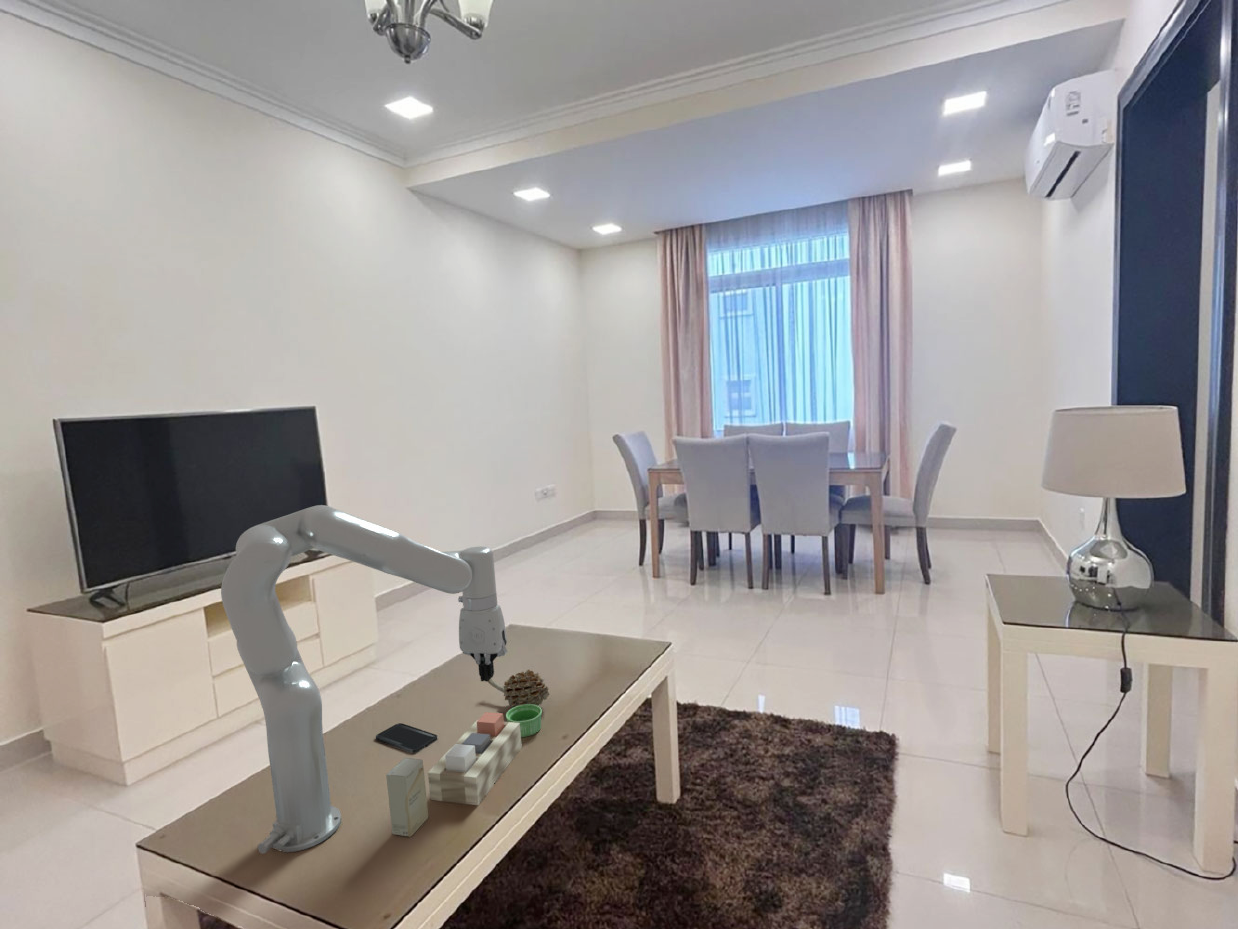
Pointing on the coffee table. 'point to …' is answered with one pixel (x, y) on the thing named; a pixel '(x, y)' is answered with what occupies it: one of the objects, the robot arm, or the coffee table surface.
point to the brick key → (490, 724)
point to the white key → (460, 758)
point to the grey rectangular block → (478, 742)
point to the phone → (406, 738)
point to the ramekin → (526, 718)
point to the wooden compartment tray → (475, 768)
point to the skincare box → (407, 796)
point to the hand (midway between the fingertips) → (487, 678)
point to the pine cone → (523, 689)
